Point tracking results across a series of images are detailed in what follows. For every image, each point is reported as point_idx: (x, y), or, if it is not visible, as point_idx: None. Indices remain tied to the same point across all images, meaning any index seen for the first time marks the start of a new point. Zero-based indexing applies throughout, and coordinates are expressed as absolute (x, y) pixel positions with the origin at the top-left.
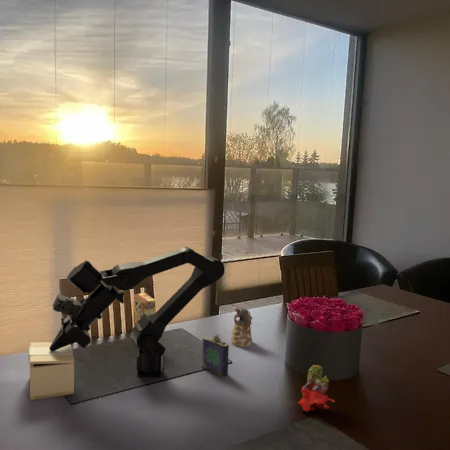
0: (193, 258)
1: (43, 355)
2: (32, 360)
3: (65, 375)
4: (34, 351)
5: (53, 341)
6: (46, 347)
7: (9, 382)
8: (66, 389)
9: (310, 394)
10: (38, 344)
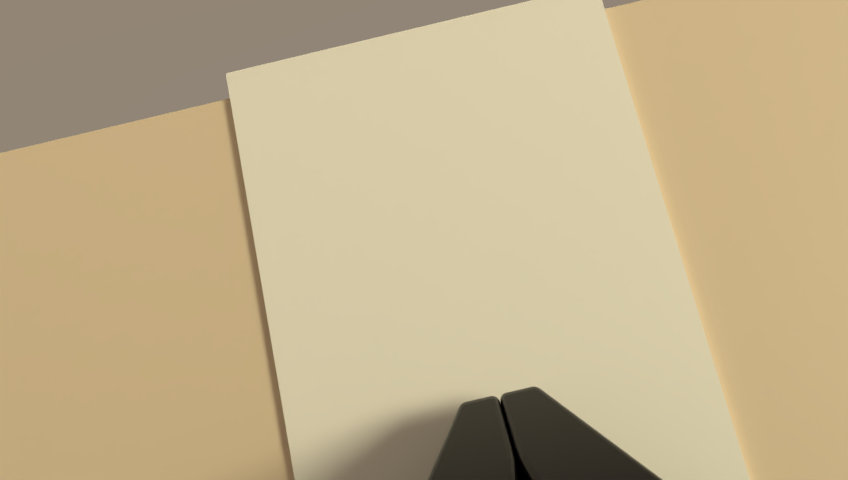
0: None
1: (256, 329)
2: (8, 185)
3: None
4: (406, 124)
5: (584, 468)
6: (680, 305)
7: None
8: None
9: None
10: (821, 112)
